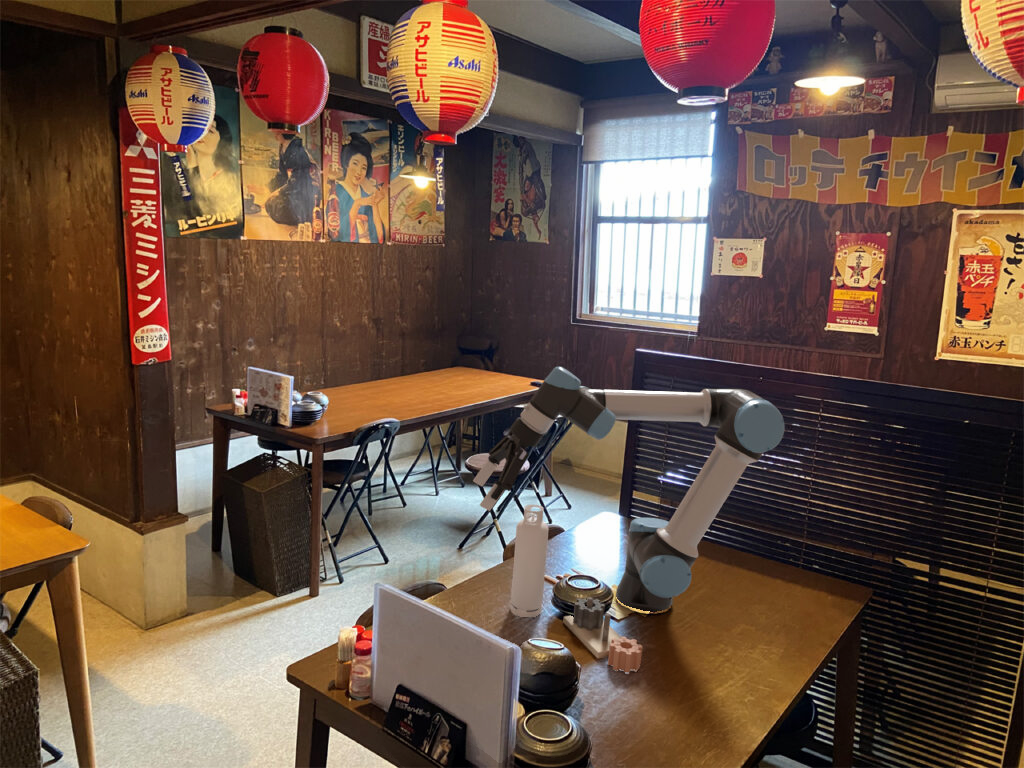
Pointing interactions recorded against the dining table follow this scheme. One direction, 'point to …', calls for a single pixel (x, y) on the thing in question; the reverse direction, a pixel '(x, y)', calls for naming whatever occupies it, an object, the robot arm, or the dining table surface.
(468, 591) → the dining table surface
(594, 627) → the gear board
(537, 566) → the bottle
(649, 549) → the robot arm
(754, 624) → the dining table surface
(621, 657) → the gear
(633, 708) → the dining table surface
